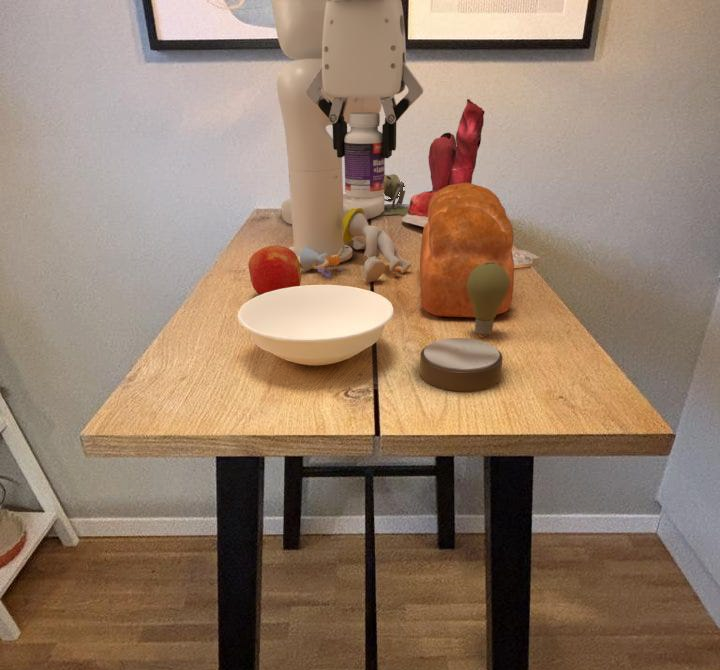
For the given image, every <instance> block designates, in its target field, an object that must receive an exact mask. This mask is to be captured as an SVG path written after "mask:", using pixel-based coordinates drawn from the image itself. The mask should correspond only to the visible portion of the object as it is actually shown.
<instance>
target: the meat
mask: <svg viewBox="0 0 720 670" xmlns="http://www.w3.org/2000/svg"><path fill="white" fill-rule="evenodd" d="M485 112H486V111H485V110H484V109H483V108H482V107H480V106H479V105H478V104H477V103H474V102H473V101H471V99H470V98H467V99H466V105H465V106H464V109H463V111H462V114H461V117H460V119H459V122H458V126H457V127H458V128H457V131H456V135H454V134H453V133H451V132H444V133H442V134H441V135H440V136H439V137H436V138H434V140H433V141H432V142H431V143H430V146H429V151H428V156H427V158H428V166H429V172H430V180H431V187H432V188H431V189H432V190H429V191H423V192H422V191H421V193H418V194H415V195H412V197H411V198H410V200H409V206H408V207H409V210H408V212H407V215H406V216H403V217H402V218H401V220H402V221H403V222H404V223H407V224H411V225H415V226H419V227H422V228H424V226H425V224H426V223H427V222H428V207H429V203H430V199H431V198H432V196H433V195H434V194H435V193H436V192H437V191H439V190H441V189H442V188H445V187H447V186H449V185H454V184H460V183H471V184H473V183H472V182H473V175H474V172H475V169H476V165H477V159H478V158H477V157H478V151H479V149H480V146H481V142H482V131H483V127H484V117H485V114H486V113H485Z"/></svg>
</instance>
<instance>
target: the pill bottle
mask: <svg viewBox="0 0 720 670" xmlns="http://www.w3.org/2000/svg"><path fill="white" fill-rule="evenodd" d="M380 115H381V113H374V112H358V113H349V124H348V127H350V131H347V134H346V135H345V137H344V158H343V159H344V189H345V192H346V194H347V195H348V196H351V197H376V196H380V195H382V194H384V186H385V185H384V180H385V175H386V171H385V168H386V167H385V166H386V165H385V161H386V158H384V157H382V132H381V131H379V127H380V122H381V119H380V117H381V116H380Z"/></svg>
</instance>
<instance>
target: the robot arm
mask: <svg viewBox="0 0 720 670" xmlns="http://www.w3.org/2000/svg"><path fill="white" fill-rule="evenodd" d="M270 1H271V2H270V3H271V7H272V8H271V9H272V15H273V20H274V25H275V31H276V36H277V41H278V44H279V47H280V49H281V51H282V52H283V54H284V55H285V56H286V57H287V58H290V59H292V60H293V61H290V62H287V63H286V64H285V65H284V66H283V67H282V68H281V69H280V71H279V73H278V76H277V80H276V81H277V82H276V87H277V88H276V90H277V96H278V103H279V107H280V112H281V118H282V122H283V129H284V134H285V135H284V136H285V143H286V156H287V167H288V179H289V180H288V181H289V195H290V197H289V199H290V198H291V213H292V224H291V225H292V227H291V228H292V240H293V245H291V246H290V247H288V248H289V249H291V250H292V251H293V252H294V253H295V254H296V255H297V257H298V259H299V258H300V254H301V251H302V249H303V248H304V247H305V246H307V247H309V248H310V249H312V250H314V251H315V252H317V253H318V254H319V255H322V254H323V253H327V254H330V255H331V256H332V255H337V254H338V253H339V251H340V248H341V249H342V252H341V253H340V255H339V257H340V263H344V262H347V261H349V260H350V259H351V258H353V254H354V253H353V248H352V247H351V246H349V245H348V244H346V243H345V242H344V241H343V239H342V236H343V231H344V229H343V225H342V221H343V189H344V187H343V186H344V184H343V182H344V181H343V157H344V137H345V135H346V134H347V133H348V125H349V113H358V112H374V113H379V114H381V110H382V109H383V112H384V116H385V118H384V123H383V124H382V126H381V129H382V132H381V133H382V157H384V158H385V159H390V157H392V156H393V152H394V151H396V150H397V122H398V121H399V120H400V118H401V117H403V115H404V114H405V112H406V111H407V110H408V109H409V108H410V107H411V106H412V105H413V104H414V103H415V102H416V101H417V100H418V99H419V98H420V97H421V96H422V95H423V93H424V87H423V86H422V85H421V83H420V82H419V80H418V79H417V78H416V76H415V75H414V74H413V72H412V71H411V70H410V68H409V66H407V50H406V49H407V48H406V47H407V46H406V29H405V28H406V27H405V17H404V9H403V4H402V0H270ZM406 87H407V90H408V91H407V93H406V94H405V95H404V96H403V97H402V99H400V100H399V101H398V102H396V97H395V96H396V95H399V94H401V93H403V91H405V89H406ZM328 126H332V136H331V134H330V133H329V132H328V129H327V127H328ZM330 255H328V256H329V257H330ZM340 263H339V264H340ZM322 264H323V263H322ZM319 265H321V262H319V263H318V264H317V265H316V266H319Z"/></svg>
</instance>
